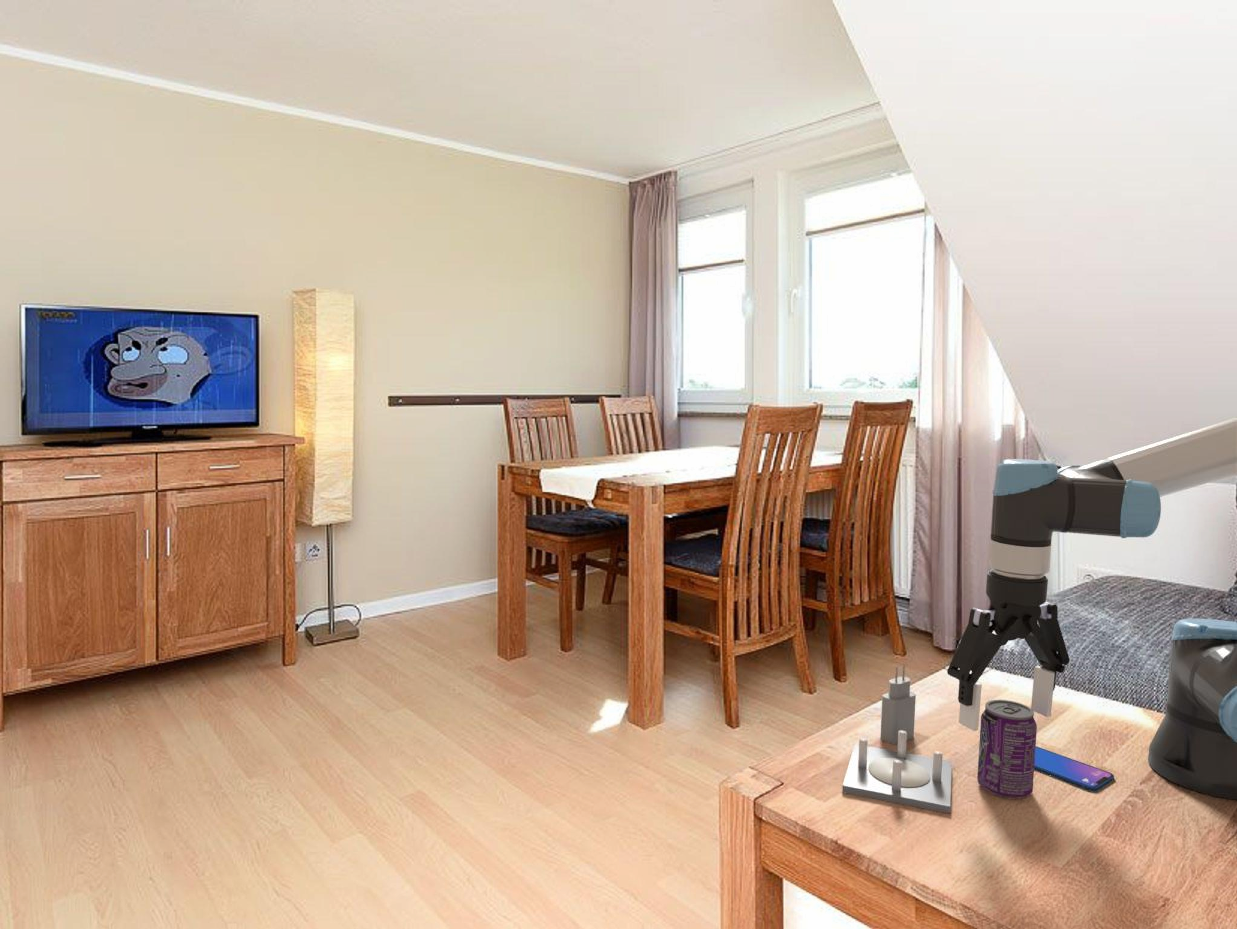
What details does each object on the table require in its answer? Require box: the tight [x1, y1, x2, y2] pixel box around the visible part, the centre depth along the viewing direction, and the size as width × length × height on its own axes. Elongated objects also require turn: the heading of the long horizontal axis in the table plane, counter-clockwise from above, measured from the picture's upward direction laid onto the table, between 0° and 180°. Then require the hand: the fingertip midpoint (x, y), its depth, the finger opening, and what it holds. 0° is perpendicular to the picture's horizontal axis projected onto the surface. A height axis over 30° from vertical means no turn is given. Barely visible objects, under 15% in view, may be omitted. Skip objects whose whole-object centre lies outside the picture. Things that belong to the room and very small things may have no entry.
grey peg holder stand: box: [841, 730, 953, 814], centre depth 117 cm, size 14×14×5 cm
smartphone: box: [1034, 745, 1115, 792], centre depth 122 cm, size 7×1×15 cm
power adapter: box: [880, 664, 917, 745], centre depth 130 cm, size 3×5×12 cm, turn 125°
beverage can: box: [976, 699, 1038, 799], centre depth 114 cm, size 7×7×12 cm
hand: (1005, 719), depth 113 cm, fingers open, 13 cm apart
